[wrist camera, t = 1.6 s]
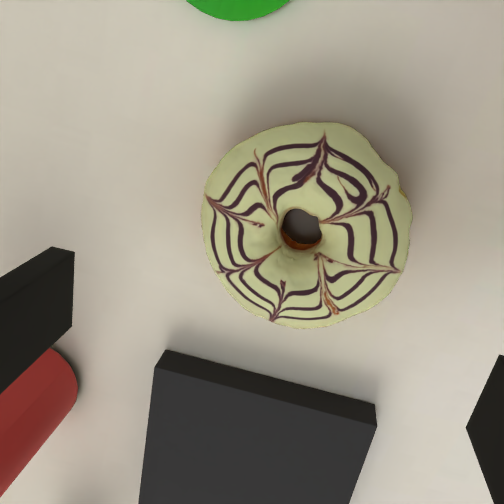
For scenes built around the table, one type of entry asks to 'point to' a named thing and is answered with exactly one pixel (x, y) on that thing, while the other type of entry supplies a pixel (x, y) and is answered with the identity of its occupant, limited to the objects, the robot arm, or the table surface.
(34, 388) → the beer can
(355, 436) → the black pad
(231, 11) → the plate of lemons
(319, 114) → the table surface
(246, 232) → the decorated donut
